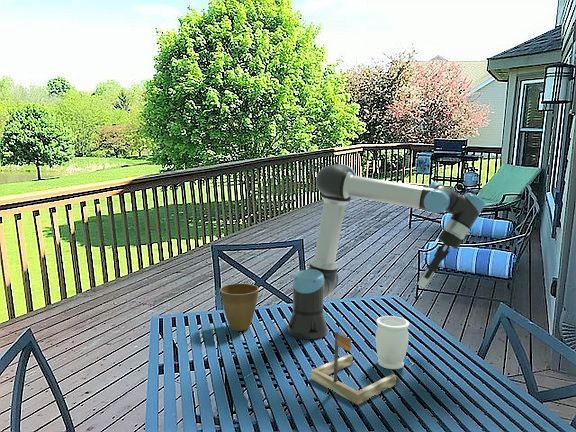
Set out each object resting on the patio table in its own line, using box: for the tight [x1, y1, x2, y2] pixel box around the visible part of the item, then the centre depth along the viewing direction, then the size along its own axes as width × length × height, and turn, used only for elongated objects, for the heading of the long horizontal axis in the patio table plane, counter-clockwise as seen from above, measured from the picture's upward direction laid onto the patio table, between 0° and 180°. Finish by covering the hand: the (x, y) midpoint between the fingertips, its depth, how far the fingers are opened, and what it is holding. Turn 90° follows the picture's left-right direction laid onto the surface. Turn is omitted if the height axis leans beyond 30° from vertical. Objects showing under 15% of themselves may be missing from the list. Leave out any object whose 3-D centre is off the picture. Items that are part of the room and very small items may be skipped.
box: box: [310, 331, 397, 406], centre depth 143 cm, size 18×19×18 cm
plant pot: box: [219, 283, 260, 332], centre depth 185 cm, size 15×15×16 cm
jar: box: [375, 315, 410, 370], centre depth 155 cm, size 11×10×15 cm
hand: (420, 285), depth 167 cm, fingers open, 13 cm apart
